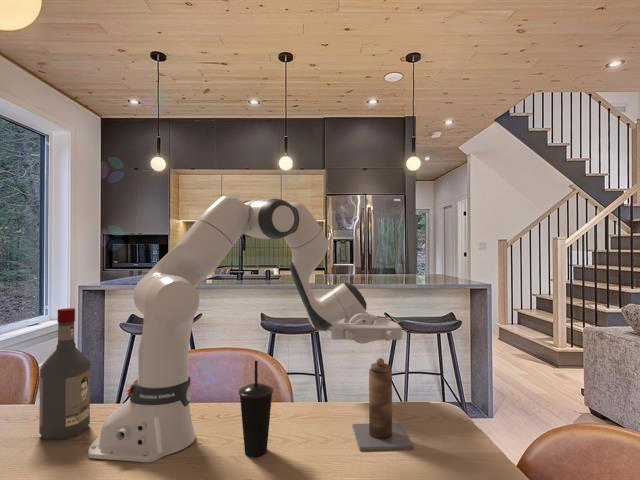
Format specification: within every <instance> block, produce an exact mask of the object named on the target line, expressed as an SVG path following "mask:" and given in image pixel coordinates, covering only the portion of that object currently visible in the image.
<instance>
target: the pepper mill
mask: <svg viewBox="0 0 640 480" xmlns="http://www.w3.org/2000/svg"><path fill="white" fill-rule="evenodd" d="M370 365H371V366H370V368H369V369H368V377H369V378H368V403H369V404H368V415H369V416H368V423H369V434H370V436H371V437H373V438H376V439H388V438H390V437H391V436H392V423H393V370H392V369H390V368H391V365H390V364H388V363H386V362H385V360H384V358H381V357H379V358H377V360H376V362H373V363H372V364H370Z"/></svg>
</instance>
